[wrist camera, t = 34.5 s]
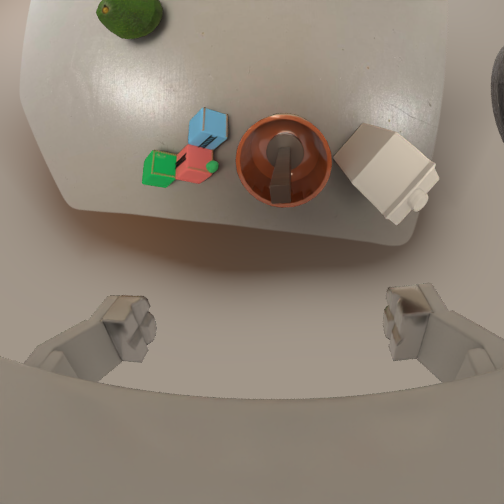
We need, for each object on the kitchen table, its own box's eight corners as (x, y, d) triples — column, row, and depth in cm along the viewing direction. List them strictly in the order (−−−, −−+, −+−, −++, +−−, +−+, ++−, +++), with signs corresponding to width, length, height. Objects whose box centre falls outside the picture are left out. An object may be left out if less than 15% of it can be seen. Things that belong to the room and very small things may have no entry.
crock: (319, 110, 40) (328, 112, 30) (324, 181, 44) (333, 204, 35) (244, 116, 41) (230, 120, 32) (253, 186, 46) (242, 210, 36)
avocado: (118, 23, 35) (74, 9, 25) (154, -9, 33) (117, -33, 22) (142, 52, 38) (100, 42, 27) (181, 19, 35) (148, -2, 24)
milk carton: (332, 157, 43) (359, 194, 26) (363, 122, 40) (410, 136, 23) (367, 188, 44) (409, 242, 27) (397, 154, 41) (457, 190, 24)
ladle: (301, 131, 41) (313, 157, 20) (304, 165, 43) (317, 224, 22) (265, 133, 41) (241, 163, 21) (269, 167, 44) (249, 228, 23)
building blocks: (191, 148, 49) (229, 113, 39) (188, 193, 48) (229, 166, 38) (146, 138, 44) (176, 97, 35) (141, 186, 43) (170, 152, 33)
